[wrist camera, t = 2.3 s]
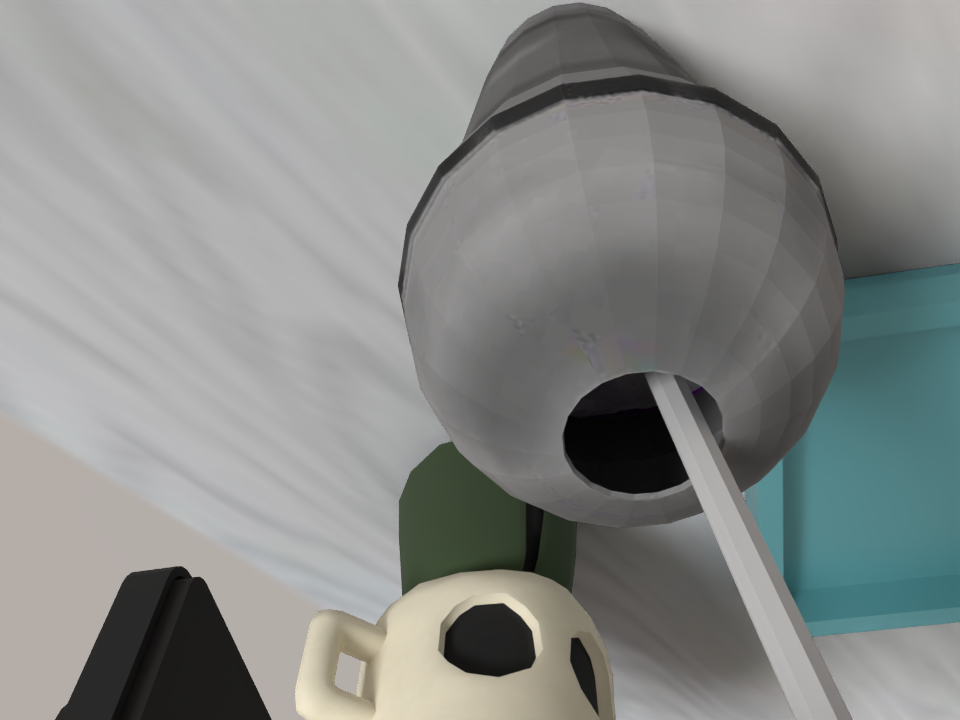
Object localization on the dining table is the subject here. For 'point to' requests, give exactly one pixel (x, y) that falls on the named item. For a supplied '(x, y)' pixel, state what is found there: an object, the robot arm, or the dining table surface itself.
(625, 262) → the beverage cup
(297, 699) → the character mug
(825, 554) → the tray
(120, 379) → the dining table surface
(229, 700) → the robot arm
